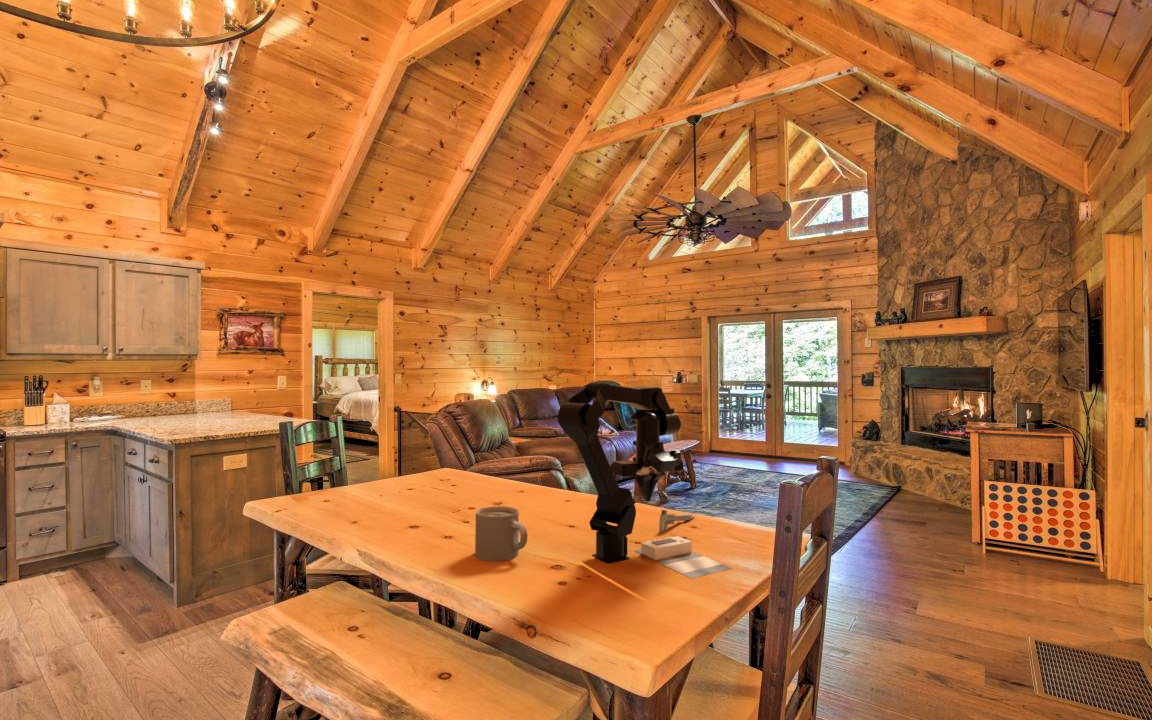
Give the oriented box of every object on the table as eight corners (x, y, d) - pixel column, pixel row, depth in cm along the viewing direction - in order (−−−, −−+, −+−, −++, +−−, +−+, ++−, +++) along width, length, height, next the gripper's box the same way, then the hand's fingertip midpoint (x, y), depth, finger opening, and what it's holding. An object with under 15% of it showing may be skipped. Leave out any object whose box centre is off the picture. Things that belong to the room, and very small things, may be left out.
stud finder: (654, 559, 128) (654, 548, 128) (641, 553, 132) (641, 542, 132) (691, 552, 133) (691, 540, 133) (677, 546, 137) (677, 535, 137)
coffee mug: (466, 554, 132) (467, 511, 132) (500, 544, 139) (501, 504, 139) (502, 568, 122) (503, 522, 123) (536, 558, 129) (537, 514, 130)
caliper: (662, 535, 149) (663, 511, 149) (659, 534, 150) (659, 510, 150) (694, 519, 166) (695, 497, 166) (691, 518, 166) (691, 497, 166)
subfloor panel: (691, 580, 117) (691, 578, 117) (633, 552, 134) (633, 550, 134) (733, 570, 123) (733, 568, 123) (672, 545, 140) (672, 543, 140)
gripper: (637, 443, 128) (636, 513, 127) (699, 439, 137) (698, 503, 137) (609, 438, 137) (608, 502, 137) (669, 434, 147) (668, 494, 146)
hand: (647, 501), depth 139 cm, fingers closed
